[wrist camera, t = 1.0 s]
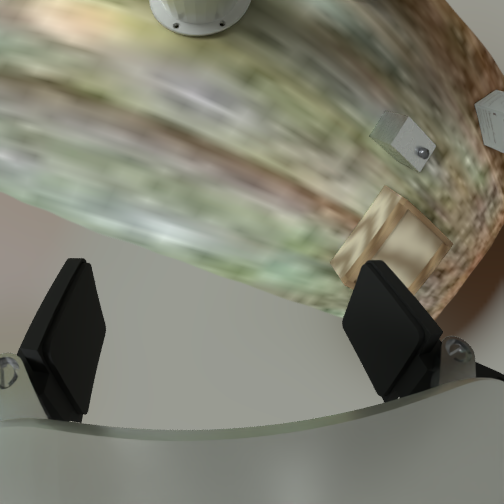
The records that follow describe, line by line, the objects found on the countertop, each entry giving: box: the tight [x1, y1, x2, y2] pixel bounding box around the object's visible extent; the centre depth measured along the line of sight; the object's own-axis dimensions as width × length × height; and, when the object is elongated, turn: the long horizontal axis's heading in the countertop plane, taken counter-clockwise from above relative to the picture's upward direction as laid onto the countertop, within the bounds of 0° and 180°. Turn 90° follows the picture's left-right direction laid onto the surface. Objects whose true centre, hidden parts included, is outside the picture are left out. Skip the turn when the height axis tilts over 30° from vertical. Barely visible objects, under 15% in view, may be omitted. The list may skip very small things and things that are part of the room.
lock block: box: [369, 111, 436, 172], centre depth 37 cm, size 5×7×7 cm
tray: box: [330, 186, 453, 295], centre depth 47 cm, size 16×16×6 cm
